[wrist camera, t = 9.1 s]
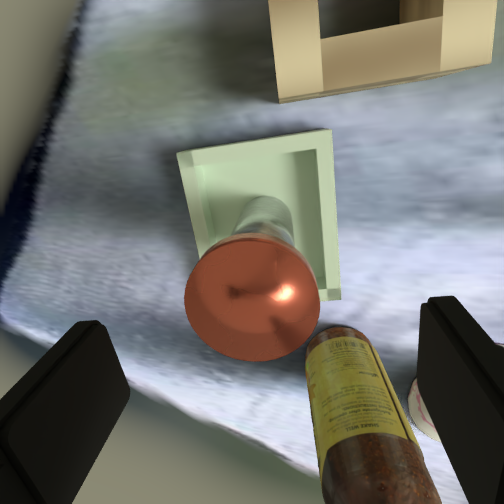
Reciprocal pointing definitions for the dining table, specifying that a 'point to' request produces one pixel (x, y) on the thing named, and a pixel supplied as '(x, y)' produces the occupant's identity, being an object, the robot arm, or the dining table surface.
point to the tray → (269, 194)
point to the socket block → (378, 47)
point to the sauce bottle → (361, 426)
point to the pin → (254, 287)
